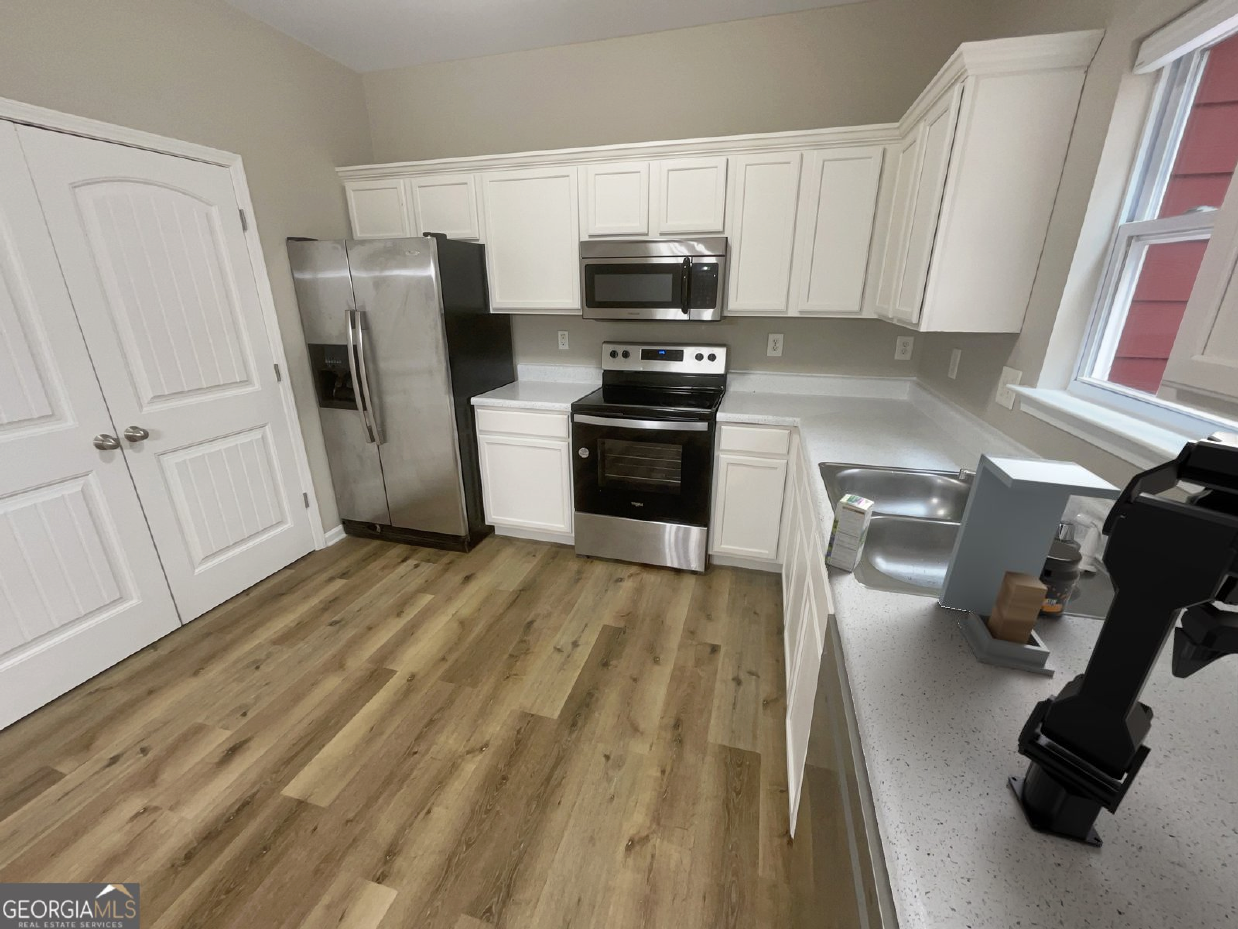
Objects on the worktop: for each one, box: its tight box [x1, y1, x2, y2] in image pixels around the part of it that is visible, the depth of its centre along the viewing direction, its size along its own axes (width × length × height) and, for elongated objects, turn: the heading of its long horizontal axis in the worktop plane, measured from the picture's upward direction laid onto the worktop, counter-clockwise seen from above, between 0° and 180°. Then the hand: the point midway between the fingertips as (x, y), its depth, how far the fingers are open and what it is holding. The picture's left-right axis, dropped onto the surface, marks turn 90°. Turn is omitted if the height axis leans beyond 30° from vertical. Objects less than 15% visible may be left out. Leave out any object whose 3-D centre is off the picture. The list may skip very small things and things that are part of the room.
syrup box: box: [824, 493, 875, 573], centre depth 103 cm, size 6×6×14 cm
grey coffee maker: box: [937, 452, 1122, 614], centre depth 81 cm, size 12×13×30 cm
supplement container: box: [1037, 538, 1083, 618], centre depth 92 cm, size 10×10×12 cm
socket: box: [957, 610, 1056, 677], centre depth 82 cm, size 10×10×4 cm
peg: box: [986, 571, 1048, 645], centre depth 80 cm, size 4×4×12 cm
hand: (1151, 650), depth 63 cm, fingers open, 9 cm apart
